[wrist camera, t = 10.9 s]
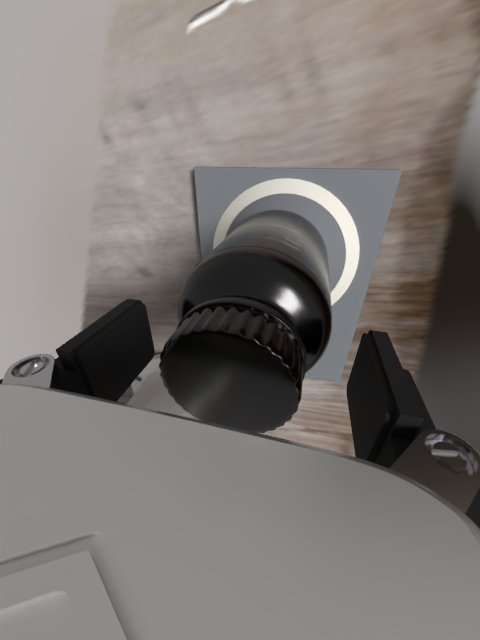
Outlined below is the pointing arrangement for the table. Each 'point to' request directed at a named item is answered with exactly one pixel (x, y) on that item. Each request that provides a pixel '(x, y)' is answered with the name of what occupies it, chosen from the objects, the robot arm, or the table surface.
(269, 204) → the mat
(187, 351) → the supplement bottle
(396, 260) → the table surface
